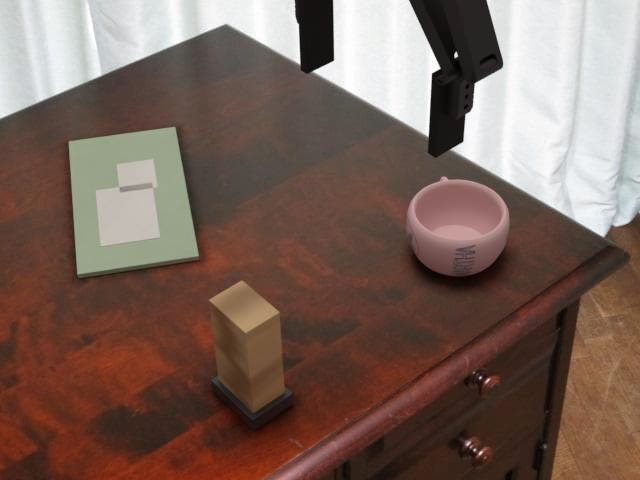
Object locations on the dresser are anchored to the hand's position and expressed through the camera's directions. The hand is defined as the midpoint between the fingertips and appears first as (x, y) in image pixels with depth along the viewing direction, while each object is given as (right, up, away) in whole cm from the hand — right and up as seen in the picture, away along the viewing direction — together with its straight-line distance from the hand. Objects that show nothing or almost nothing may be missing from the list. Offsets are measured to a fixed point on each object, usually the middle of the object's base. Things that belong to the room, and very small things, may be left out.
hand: (378, 105), depth 83 cm
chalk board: (-24, -5, +39) cm, 46 cm away
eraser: (-10, -24, +18) cm, 32 cm away
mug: (+9, -11, +32) cm, 35 cm away
